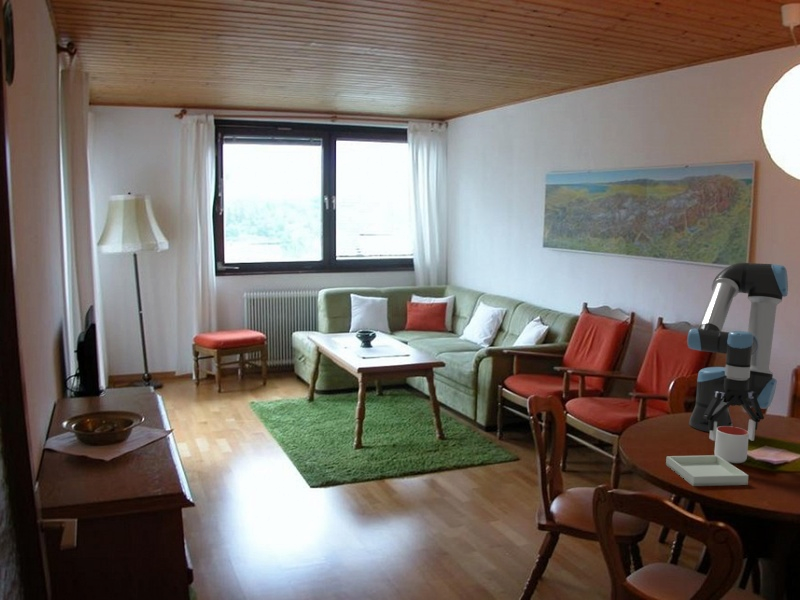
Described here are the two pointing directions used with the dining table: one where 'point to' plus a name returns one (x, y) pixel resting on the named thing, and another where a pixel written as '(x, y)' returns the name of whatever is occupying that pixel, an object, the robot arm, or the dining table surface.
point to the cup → (731, 444)
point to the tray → (706, 470)
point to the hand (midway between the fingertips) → (731, 439)
